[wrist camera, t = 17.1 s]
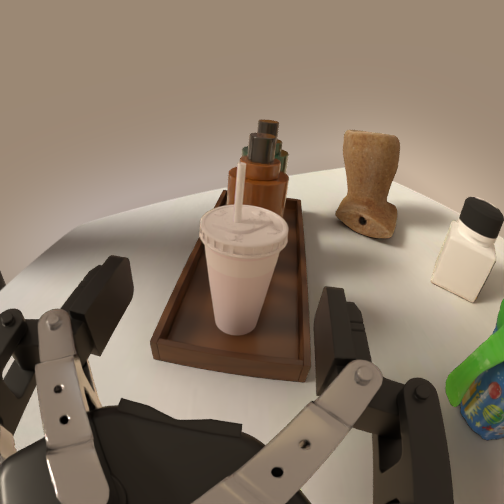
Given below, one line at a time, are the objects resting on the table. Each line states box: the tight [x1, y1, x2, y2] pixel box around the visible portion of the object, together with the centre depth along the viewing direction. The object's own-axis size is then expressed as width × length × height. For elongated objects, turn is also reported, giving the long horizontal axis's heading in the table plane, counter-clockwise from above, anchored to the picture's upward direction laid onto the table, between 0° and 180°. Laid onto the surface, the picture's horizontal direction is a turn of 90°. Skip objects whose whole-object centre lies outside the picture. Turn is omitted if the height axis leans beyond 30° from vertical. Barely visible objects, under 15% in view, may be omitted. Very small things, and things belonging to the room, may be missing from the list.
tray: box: [150, 190, 311, 382], centre depth 35 cm, size 31×12×2 cm, turn 174°
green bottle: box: [242, 120, 288, 174], centre depth 40 cm, size 6×6×14 cm
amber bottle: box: [227, 133, 289, 218], centre depth 32 cm, size 6×6×14 cm
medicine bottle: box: [431, 197, 504, 303], centre depth 33 cm, size 7×7×12 cm
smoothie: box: [199, 162, 288, 335], centre depth 23 cm, size 6×6×14 cm
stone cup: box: [335, 130, 400, 238], centre depth 46 cm, size 15×12×15 cm
